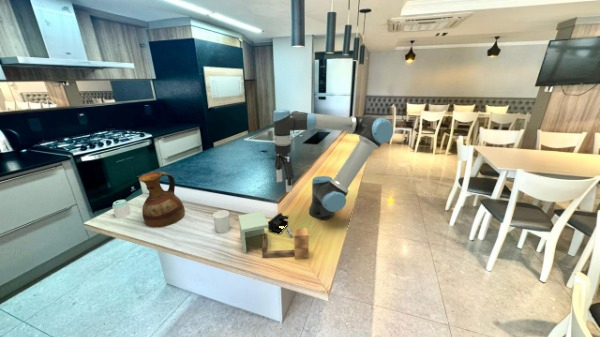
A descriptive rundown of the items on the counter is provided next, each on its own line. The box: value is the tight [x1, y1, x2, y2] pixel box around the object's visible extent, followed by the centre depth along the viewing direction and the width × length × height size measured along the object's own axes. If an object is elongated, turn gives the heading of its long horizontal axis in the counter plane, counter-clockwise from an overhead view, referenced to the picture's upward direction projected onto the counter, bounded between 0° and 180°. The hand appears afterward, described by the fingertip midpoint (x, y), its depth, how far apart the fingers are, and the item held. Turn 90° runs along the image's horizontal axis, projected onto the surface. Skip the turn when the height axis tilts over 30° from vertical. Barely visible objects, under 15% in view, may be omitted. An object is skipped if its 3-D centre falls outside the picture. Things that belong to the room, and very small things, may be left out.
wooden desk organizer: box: [261, 228, 310, 260], centre depth 104 cm, size 20×12×12 cm, turn 93°
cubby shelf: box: [238, 210, 269, 254], centre depth 110 cm, size 12×13×12 cm
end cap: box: [267, 212, 289, 235], centre depth 122 cm, size 10×7×7 cm
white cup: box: [212, 209, 231, 234], centre depth 120 cm, size 8×8×10 cm
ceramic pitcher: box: [138, 171, 186, 228], centre depth 126 cm, size 20×20×30 cm
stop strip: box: [285, 226, 294, 239], centre depth 118 cm, size 1×7×2 cm, turn 20°
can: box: [112, 199, 132, 219], centre depth 130 cm, size 7×7×12 cm
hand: (284, 186), depth 113 cm, fingers open, 13 cm apart
